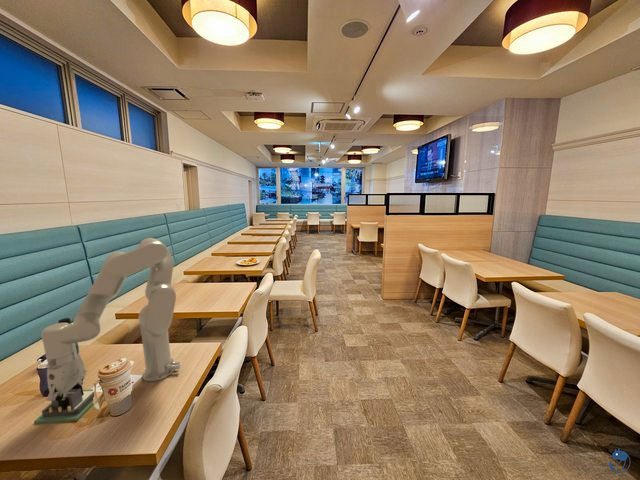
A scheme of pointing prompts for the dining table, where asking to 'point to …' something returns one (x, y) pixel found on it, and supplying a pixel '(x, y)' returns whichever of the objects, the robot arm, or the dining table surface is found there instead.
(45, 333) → the robot arm
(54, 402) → the plug housing
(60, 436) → the dining table surface
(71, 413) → the board
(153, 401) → the dining table surface
